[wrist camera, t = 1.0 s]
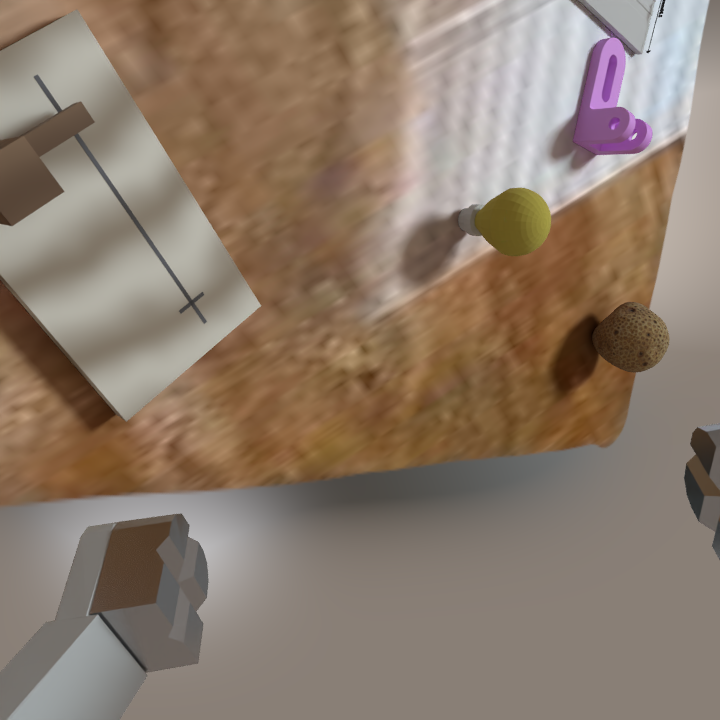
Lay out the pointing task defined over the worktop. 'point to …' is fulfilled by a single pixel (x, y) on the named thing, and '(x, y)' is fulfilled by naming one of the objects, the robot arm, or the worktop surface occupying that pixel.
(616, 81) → the bracket
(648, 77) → the worktop surface
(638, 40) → the baseboard molding
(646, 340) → the natural sponge
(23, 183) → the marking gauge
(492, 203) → the light bulb
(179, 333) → the birch board
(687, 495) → the robot arm
